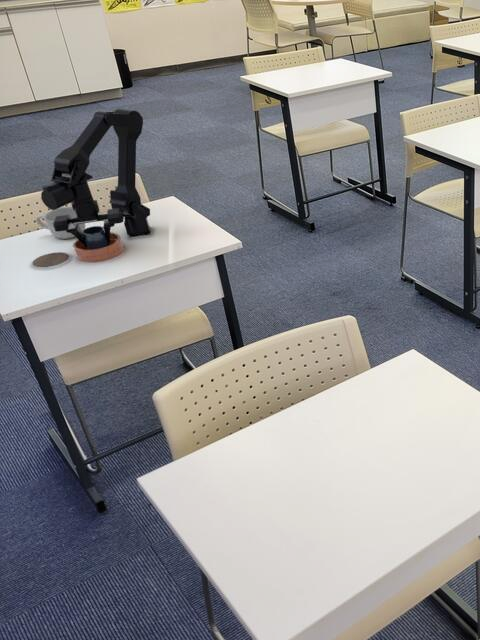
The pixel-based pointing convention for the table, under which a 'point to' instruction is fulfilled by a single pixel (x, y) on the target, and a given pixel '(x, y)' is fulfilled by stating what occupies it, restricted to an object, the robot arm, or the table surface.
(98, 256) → the bowl
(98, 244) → the cup
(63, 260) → the coaster
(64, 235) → the teacup
